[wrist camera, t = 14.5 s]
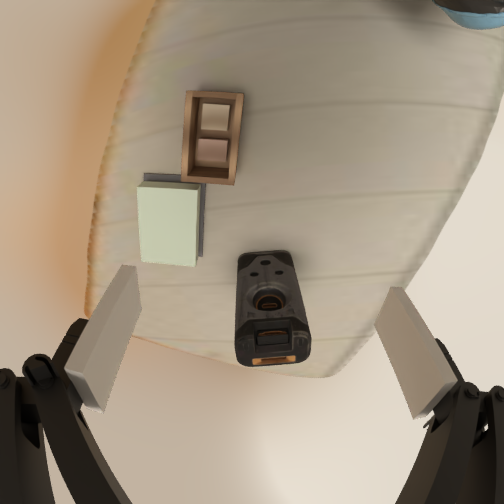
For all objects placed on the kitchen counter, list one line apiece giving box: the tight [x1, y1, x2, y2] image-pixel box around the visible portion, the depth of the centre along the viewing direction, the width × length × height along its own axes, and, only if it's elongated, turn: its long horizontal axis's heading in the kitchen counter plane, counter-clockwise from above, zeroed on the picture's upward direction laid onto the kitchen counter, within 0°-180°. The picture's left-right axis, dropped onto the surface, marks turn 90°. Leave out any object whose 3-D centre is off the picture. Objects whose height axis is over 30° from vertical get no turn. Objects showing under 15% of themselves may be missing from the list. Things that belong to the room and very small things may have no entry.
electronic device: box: [235, 251, 311, 367], centre depth 43 cm, size 9×6×20 cm, turn 94°
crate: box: [181, 91, 244, 185], centre depth 37 cm, size 12×7×7 cm, turn 174°
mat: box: [144, 173, 206, 257], centre depth 47 cm, size 14×10×1 cm
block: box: [137, 181, 201, 267], centre depth 45 cm, size 12×9×4 cm
